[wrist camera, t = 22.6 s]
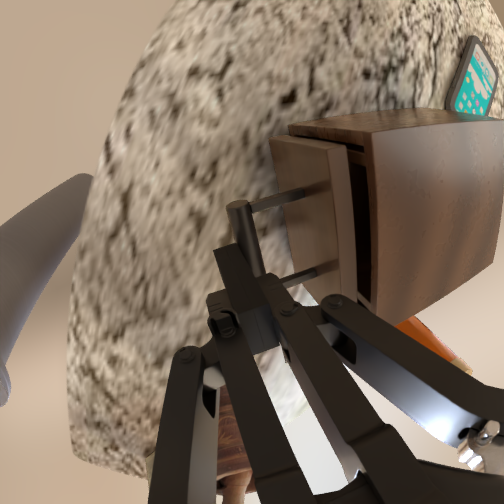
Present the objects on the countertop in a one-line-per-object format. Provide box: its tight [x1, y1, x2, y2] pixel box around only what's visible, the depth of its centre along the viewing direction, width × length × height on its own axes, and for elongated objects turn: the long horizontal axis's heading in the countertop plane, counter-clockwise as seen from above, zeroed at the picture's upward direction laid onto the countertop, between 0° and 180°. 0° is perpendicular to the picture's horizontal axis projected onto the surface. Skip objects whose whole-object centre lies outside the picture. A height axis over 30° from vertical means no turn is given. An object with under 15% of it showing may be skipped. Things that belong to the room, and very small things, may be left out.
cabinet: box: [288, 108, 504, 326], centre depth 21 cm, size 16×14×11 cm
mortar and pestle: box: [216, 383, 256, 504], centre depth 23 cm, size 12×9×20 cm
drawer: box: [226, 135, 371, 311], centre depth 20 cm, size 19×12×9 cm, turn 103°
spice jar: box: [394, 315, 472, 376], centre depth 27 cm, size 5×5×15 cm
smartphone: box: [445, 35, 499, 116], centre depth 23 cm, size 9×1×15 cm
